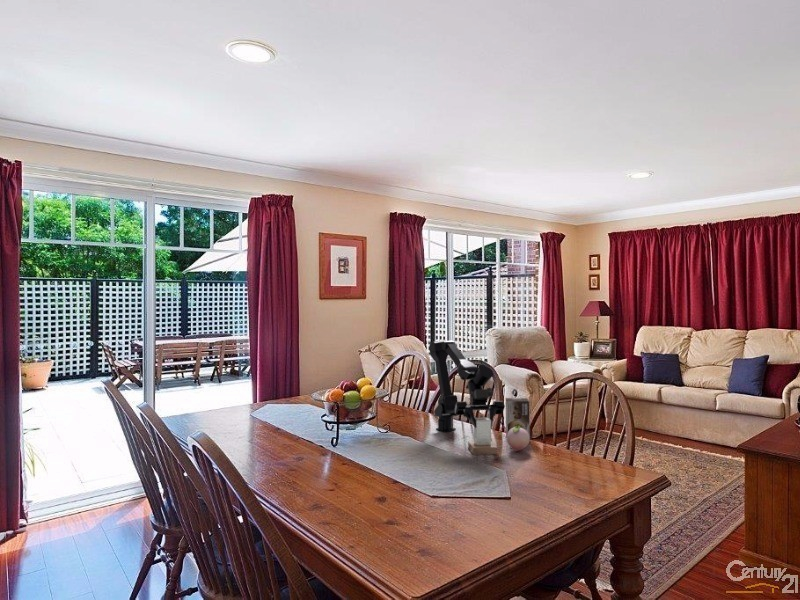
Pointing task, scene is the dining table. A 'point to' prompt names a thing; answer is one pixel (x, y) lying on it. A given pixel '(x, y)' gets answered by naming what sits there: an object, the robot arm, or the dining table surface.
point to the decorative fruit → (518, 438)
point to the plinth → (482, 448)
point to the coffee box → (517, 414)
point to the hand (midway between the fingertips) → (483, 427)
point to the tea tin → (482, 431)
